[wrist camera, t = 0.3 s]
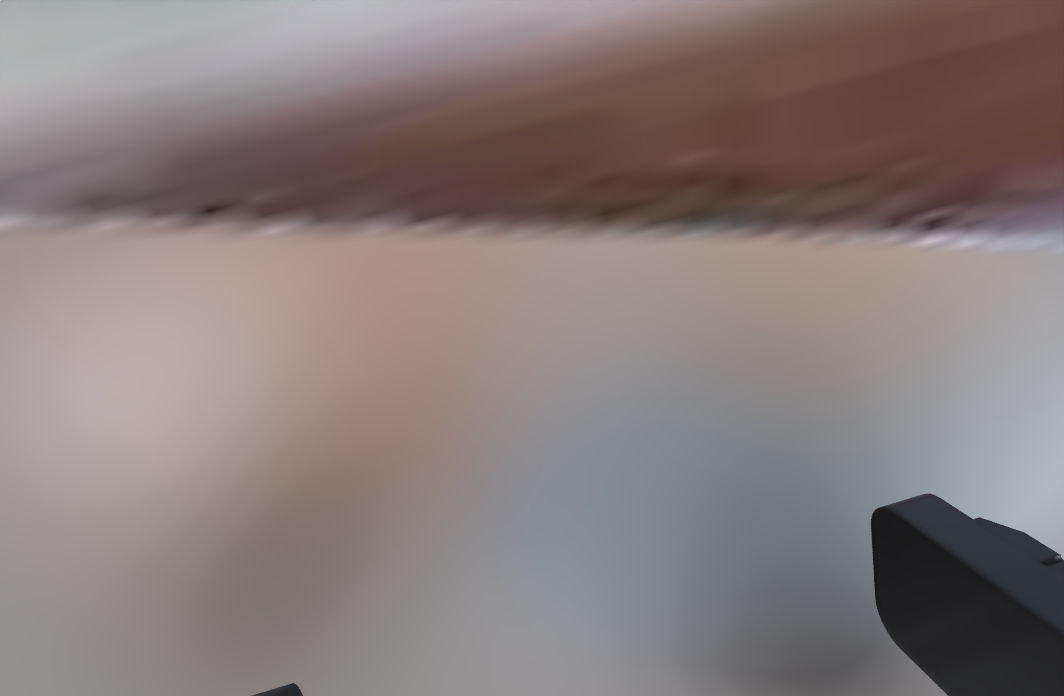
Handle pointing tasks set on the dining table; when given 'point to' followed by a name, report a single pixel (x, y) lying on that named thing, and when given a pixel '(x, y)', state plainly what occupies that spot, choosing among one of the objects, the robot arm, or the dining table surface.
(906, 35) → the dining table surface
